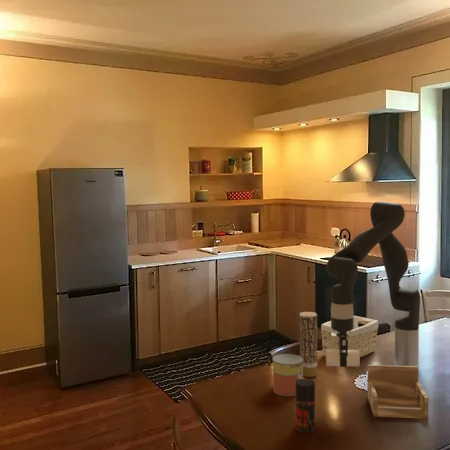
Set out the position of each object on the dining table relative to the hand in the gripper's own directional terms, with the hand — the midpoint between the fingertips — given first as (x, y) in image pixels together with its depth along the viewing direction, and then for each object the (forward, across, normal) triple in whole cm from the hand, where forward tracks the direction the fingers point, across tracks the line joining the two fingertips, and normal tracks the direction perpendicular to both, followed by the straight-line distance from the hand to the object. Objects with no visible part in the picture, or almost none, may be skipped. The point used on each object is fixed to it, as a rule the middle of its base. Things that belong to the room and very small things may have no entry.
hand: (342, 363), depth 178 cm
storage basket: (+16, +55, -8) cm, 58 cm away
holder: (+15, 0, -18) cm, 23 cm away
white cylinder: (-2, 0, 0) cm, 2 cm away
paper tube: (+15, +28, +11) cm, 34 cm away
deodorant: (+15, -18, +13) cm, 27 cm away
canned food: (+15, +12, +19) cm, 27 cm away
